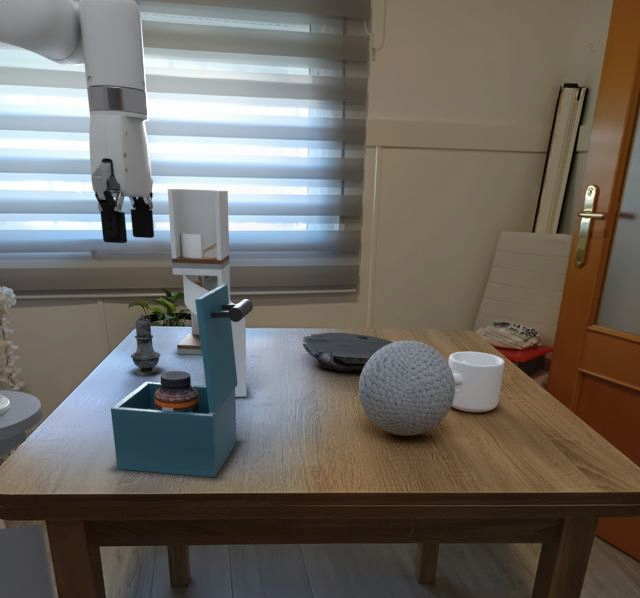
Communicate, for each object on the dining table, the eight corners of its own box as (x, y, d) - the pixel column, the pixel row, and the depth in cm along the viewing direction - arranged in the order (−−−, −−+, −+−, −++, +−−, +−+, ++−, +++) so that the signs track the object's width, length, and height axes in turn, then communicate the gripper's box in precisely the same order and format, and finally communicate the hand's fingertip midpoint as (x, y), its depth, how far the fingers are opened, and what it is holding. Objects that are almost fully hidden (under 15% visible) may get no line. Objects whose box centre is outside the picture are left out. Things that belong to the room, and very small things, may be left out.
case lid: (194, 299, 68) (234, 298, 67) (221, 284, 78) (256, 283, 78) (209, 413, 73) (246, 413, 72) (232, 384, 84) (264, 384, 83)
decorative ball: (360, 411, 101) (366, 327, 95) (446, 419, 99) (457, 334, 93) (351, 446, 88) (357, 350, 82) (451, 456, 85) (464, 358, 80)
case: (117, 469, 78) (110, 408, 74) (150, 435, 88) (145, 381, 85) (214, 477, 77) (212, 416, 73) (236, 442, 87) (235, 387, 84)
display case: (188, 341, 142) (180, 189, 129) (231, 343, 142) (227, 190, 129) (177, 353, 132) (167, 189, 118) (223, 355, 132) (219, 190, 119)
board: (354, 347, 143) (356, 327, 141) (419, 369, 127) (422, 346, 125) (281, 359, 130) (281, 337, 128) (343, 386, 114) (344, 361, 112)
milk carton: (241, 385, 112) (239, 286, 105) (246, 397, 106) (245, 293, 99) (204, 387, 111) (200, 287, 103) (207, 399, 104) (203, 294, 97)
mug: (425, 395, 111) (430, 349, 107) (472, 391, 114) (478, 347, 110) (457, 417, 100) (464, 367, 97) (507, 413, 103) (516, 364, 100)
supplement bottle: (176, 463, 78) (171, 384, 74) (149, 450, 82) (142, 374, 77) (209, 449, 83) (206, 374, 78) (182, 438, 86) (177, 365, 82)
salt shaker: (146, 377, 115) (141, 318, 110) (125, 372, 117) (120, 314, 113) (167, 370, 119) (163, 313, 115) (147, 366, 122) (142, 309, 117)
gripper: (119, 114, 85) (130, 234, 92) (57, 96, 70) (75, 243, 76) (168, 115, 85) (175, 236, 91) (117, 97, 69) (130, 246, 75)
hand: (130, 239), depth 84 cm, fingers open, 9 cm apart
